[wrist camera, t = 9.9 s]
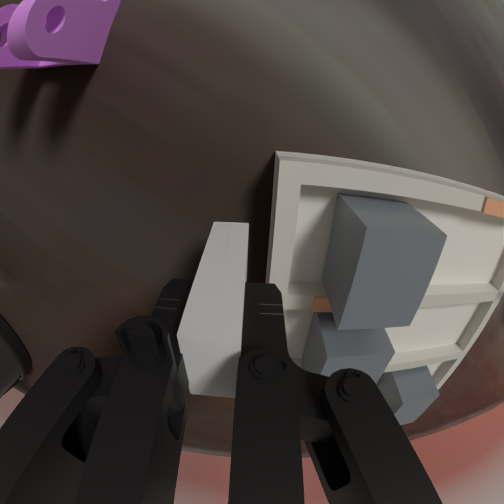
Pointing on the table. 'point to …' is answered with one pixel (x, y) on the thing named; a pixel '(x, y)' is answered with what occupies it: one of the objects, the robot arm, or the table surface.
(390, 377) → the slider
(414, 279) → the slider
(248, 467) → the robot arm
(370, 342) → the slider
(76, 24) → the bracket
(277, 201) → the switch board
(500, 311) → the table surface
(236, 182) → the table surface
